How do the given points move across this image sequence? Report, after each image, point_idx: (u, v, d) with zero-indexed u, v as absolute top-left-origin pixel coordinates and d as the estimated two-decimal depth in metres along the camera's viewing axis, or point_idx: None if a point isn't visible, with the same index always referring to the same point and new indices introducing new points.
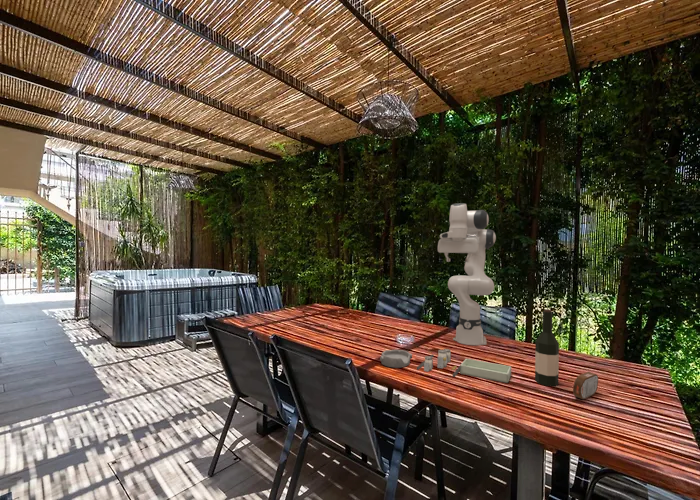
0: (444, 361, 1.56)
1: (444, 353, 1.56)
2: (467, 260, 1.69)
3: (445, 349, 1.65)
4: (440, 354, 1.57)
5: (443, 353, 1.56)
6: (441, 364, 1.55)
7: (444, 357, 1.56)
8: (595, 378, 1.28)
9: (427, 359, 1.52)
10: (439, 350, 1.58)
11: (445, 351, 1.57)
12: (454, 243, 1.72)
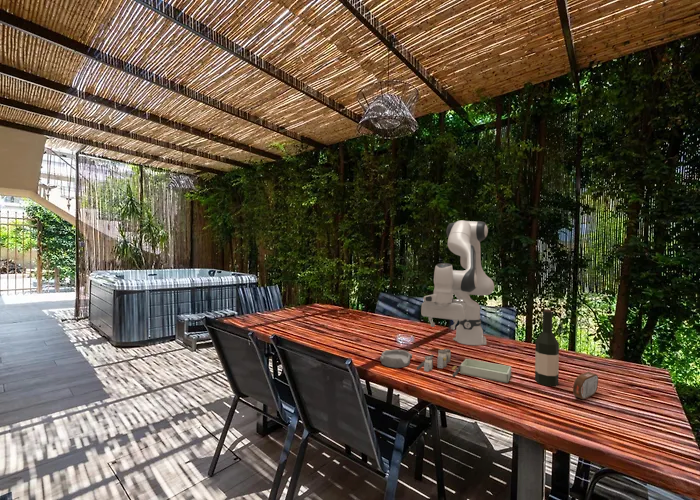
0: (444, 361, 1.56)
1: (444, 353, 1.56)
2: (452, 327, 1.54)
3: (445, 349, 1.65)
4: (440, 354, 1.57)
5: (443, 353, 1.56)
6: (441, 364, 1.55)
7: (444, 357, 1.56)
8: (595, 378, 1.28)
9: (427, 359, 1.52)
10: (439, 350, 1.58)
11: (445, 351, 1.57)
12: (438, 308, 1.57)
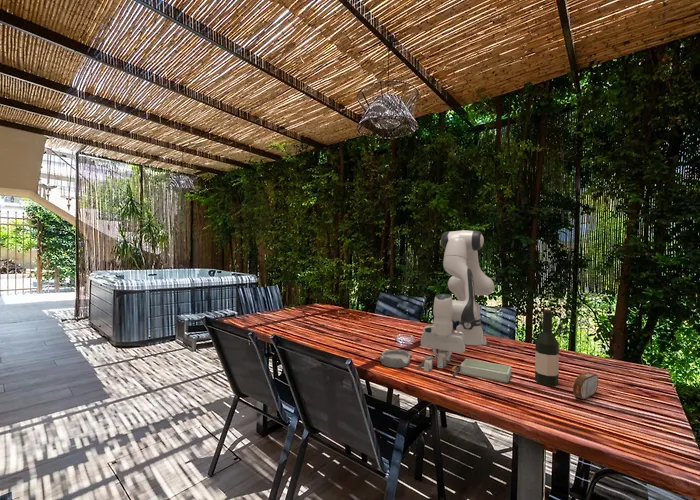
0: (444, 361, 1.56)
1: (444, 353, 1.56)
2: (447, 358, 1.56)
3: None
4: (440, 354, 1.57)
5: (443, 353, 1.56)
6: (441, 364, 1.55)
7: (444, 357, 1.56)
8: (595, 378, 1.28)
9: (427, 359, 1.52)
10: (439, 350, 1.58)
11: (445, 351, 1.57)
12: (438, 339, 1.57)
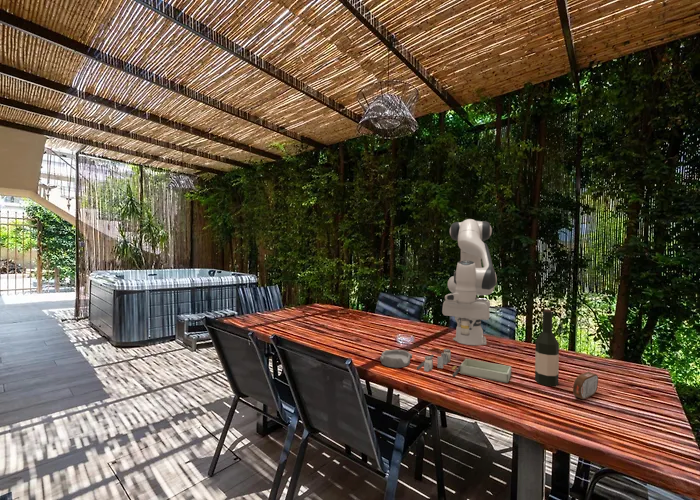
0: (467, 329, 1.51)
1: (467, 321, 1.51)
2: (471, 326, 1.50)
3: (445, 349, 1.65)
4: (463, 322, 1.51)
5: (466, 321, 1.51)
6: (441, 364, 1.55)
7: (467, 325, 1.51)
8: (595, 378, 1.28)
9: (427, 359, 1.52)
10: (462, 318, 1.53)
11: (468, 319, 1.51)
12: (461, 307, 1.52)
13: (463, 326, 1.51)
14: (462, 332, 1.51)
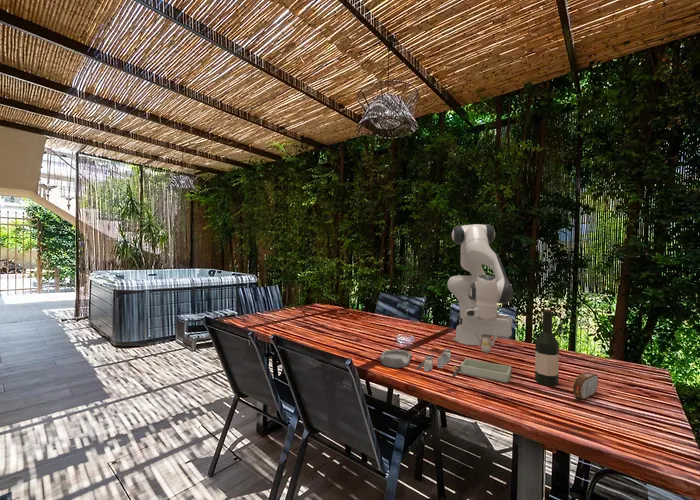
0: (488, 346, 1.46)
1: (488, 337, 1.46)
2: (492, 343, 1.46)
3: (445, 349, 1.65)
4: (484, 339, 1.47)
5: (488, 337, 1.46)
6: (441, 364, 1.55)
7: (488, 342, 1.46)
8: (595, 378, 1.28)
9: (427, 359, 1.52)
10: (482, 335, 1.48)
11: (489, 335, 1.47)
12: (481, 323, 1.47)
13: (484, 343, 1.47)
14: (483, 349, 1.47)
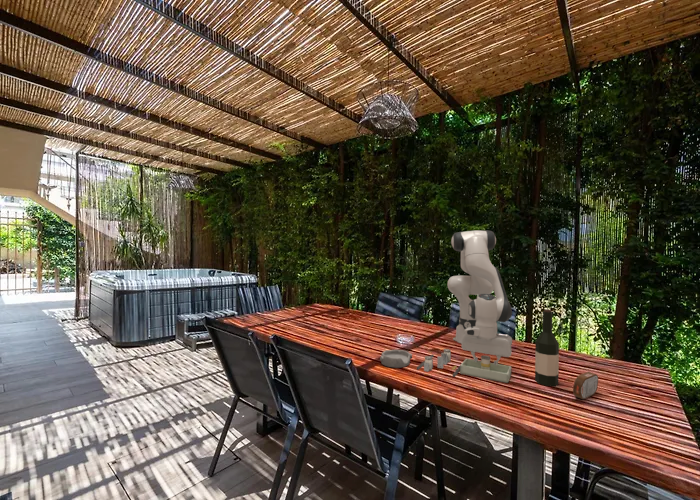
0: (488, 368, 1.46)
1: (488, 359, 1.46)
2: (496, 363, 1.45)
3: (445, 349, 1.65)
4: (484, 360, 1.47)
5: (487, 359, 1.46)
6: (441, 364, 1.55)
7: (488, 363, 1.46)
8: (595, 378, 1.28)
9: (427, 359, 1.52)
10: (482, 356, 1.49)
11: (489, 357, 1.47)
12: (481, 342, 1.48)
13: (484, 364, 1.47)
14: None
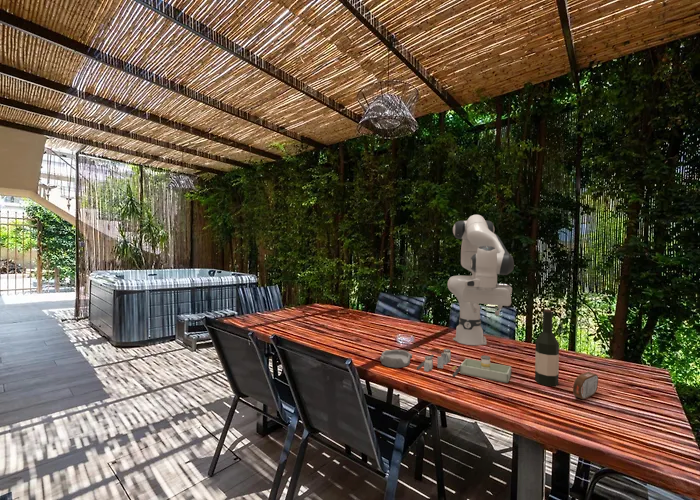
0: (488, 368, 1.46)
1: (488, 359, 1.46)
2: (497, 313, 1.47)
3: (445, 349, 1.65)
4: (484, 360, 1.47)
5: (487, 359, 1.46)
6: (441, 364, 1.55)
7: (488, 363, 1.46)
8: (595, 378, 1.28)
9: (427, 359, 1.52)
10: (482, 356, 1.49)
11: (489, 357, 1.47)
12: (481, 293, 1.49)
13: (484, 364, 1.47)
14: None
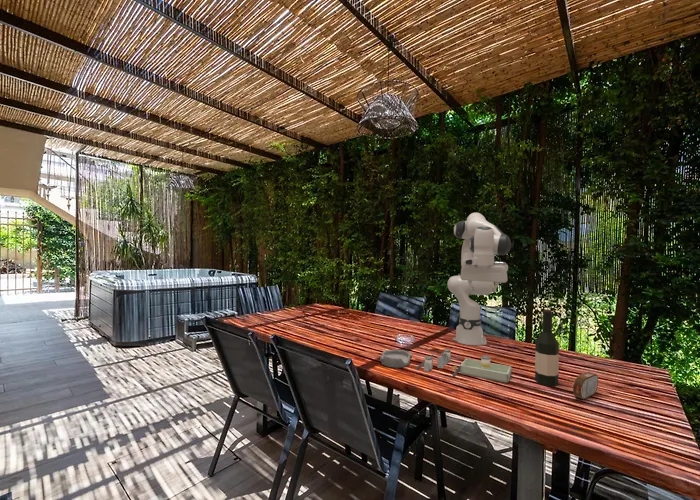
0: (488, 368, 1.46)
1: (488, 359, 1.46)
2: (494, 290, 1.54)
3: (445, 349, 1.65)
4: (484, 360, 1.47)
5: (487, 359, 1.46)
6: (441, 364, 1.55)
7: (488, 363, 1.46)
8: (595, 378, 1.28)
9: (427, 359, 1.52)
10: (482, 356, 1.49)
11: (489, 357, 1.47)
12: (479, 271, 1.57)
13: (484, 364, 1.47)
14: None
